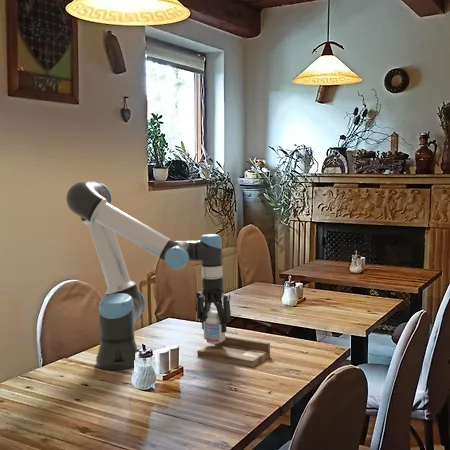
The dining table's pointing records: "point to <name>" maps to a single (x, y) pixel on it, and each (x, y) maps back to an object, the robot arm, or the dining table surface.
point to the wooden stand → (237, 351)
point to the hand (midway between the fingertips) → (214, 339)
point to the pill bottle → (212, 327)
